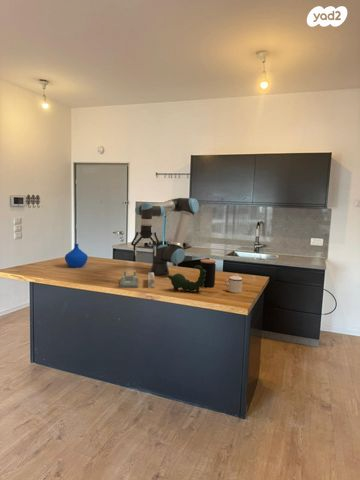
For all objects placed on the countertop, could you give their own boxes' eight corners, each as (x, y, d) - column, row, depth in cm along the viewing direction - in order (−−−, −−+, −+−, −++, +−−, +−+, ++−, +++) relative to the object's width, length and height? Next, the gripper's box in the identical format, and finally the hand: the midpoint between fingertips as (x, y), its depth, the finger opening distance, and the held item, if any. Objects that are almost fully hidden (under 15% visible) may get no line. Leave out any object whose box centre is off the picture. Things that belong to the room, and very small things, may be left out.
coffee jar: (205, 283, 240) (206, 258, 238) (217, 286, 233) (218, 260, 231) (196, 285, 231) (197, 260, 229) (208, 288, 225) (210, 262, 223)
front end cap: (135, 284, 222) (135, 276, 222) (135, 285, 219) (135, 277, 219) (122, 284, 221) (122, 276, 221) (122, 285, 218) (122, 277, 218)
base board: (138, 279, 241) (138, 277, 241) (137, 287, 219) (138, 285, 219) (121, 279, 240) (121, 277, 239) (119, 287, 218) (119, 285, 218)
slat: (153, 280, 242) (153, 272, 242) (154, 288, 221) (154, 279, 220) (148, 280, 242) (148, 272, 241) (148, 288, 220) (148, 279, 220)
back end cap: (135, 278, 240) (135, 270, 240) (135, 279, 237) (135, 271, 237) (123, 277, 239) (123, 270, 238) (123, 278, 236) (123, 271, 236)
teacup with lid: (243, 290, 223) (244, 273, 222) (240, 293, 215) (241, 276, 214) (225, 288, 228) (226, 271, 226) (222, 291, 219) (223, 274, 218)
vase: (65, 264, 286) (65, 242, 284) (87, 264, 291) (87, 242, 289) (64, 268, 268) (64, 245, 266) (87, 268, 274) (88, 245, 272)
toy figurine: (203, 293, 219) (167, 286, 223) (207, 265, 217) (170, 259, 221) (202, 297, 210) (163, 290, 214) (206, 268, 208) (167, 261, 211)
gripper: (163, 225, 234) (162, 254, 236) (128, 224, 230) (127, 254, 232) (164, 226, 227) (163, 256, 229) (128, 224, 222) (127, 256, 225)
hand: (145, 255), depth 231 cm, fingers open, 13 cm apart
